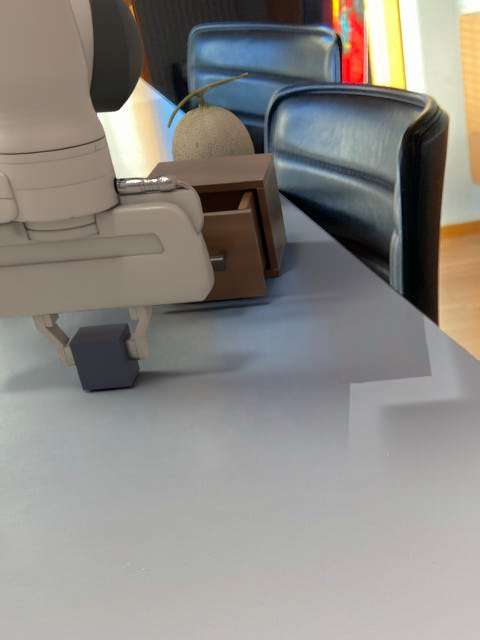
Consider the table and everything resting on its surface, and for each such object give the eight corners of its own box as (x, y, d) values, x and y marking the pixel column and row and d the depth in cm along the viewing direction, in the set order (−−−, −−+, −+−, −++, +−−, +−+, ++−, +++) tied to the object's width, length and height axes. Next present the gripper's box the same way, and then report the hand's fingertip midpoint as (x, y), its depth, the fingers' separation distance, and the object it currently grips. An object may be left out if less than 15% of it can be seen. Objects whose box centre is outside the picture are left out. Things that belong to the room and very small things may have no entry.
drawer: (262, 309, 96) (246, 223, 92) (141, 320, 96) (119, 234, 91) (274, 259, 110) (261, 182, 105) (168, 269, 109) (150, 191, 105)
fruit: (162, 207, 136) (133, 81, 128) (231, 189, 143) (208, 68, 134) (209, 217, 131) (181, 86, 122) (278, 197, 137) (257, 71, 128)
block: (83, 390, 84) (68, 343, 82) (93, 372, 87) (79, 326, 85) (131, 386, 84) (118, 339, 82) (140, 368, 88) (127, 322, 85)
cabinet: (279, 276, 108) (262, 179, 102) (160, 287, 107) (136, 190, 101) (287, 242, 119) (272, 152, 113) (178, 251, 118) (158, 162, 112)
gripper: (199, 164, 80) (235, 336, 88) (-65, 185, 79) (-5, 357, 87) (188, 181, 75) (227, 363, 83) (-95, 204, 74) (-28, 386, 82)
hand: (106, 360), depth 85 cm, fingers closed on block, 4 cm apart
